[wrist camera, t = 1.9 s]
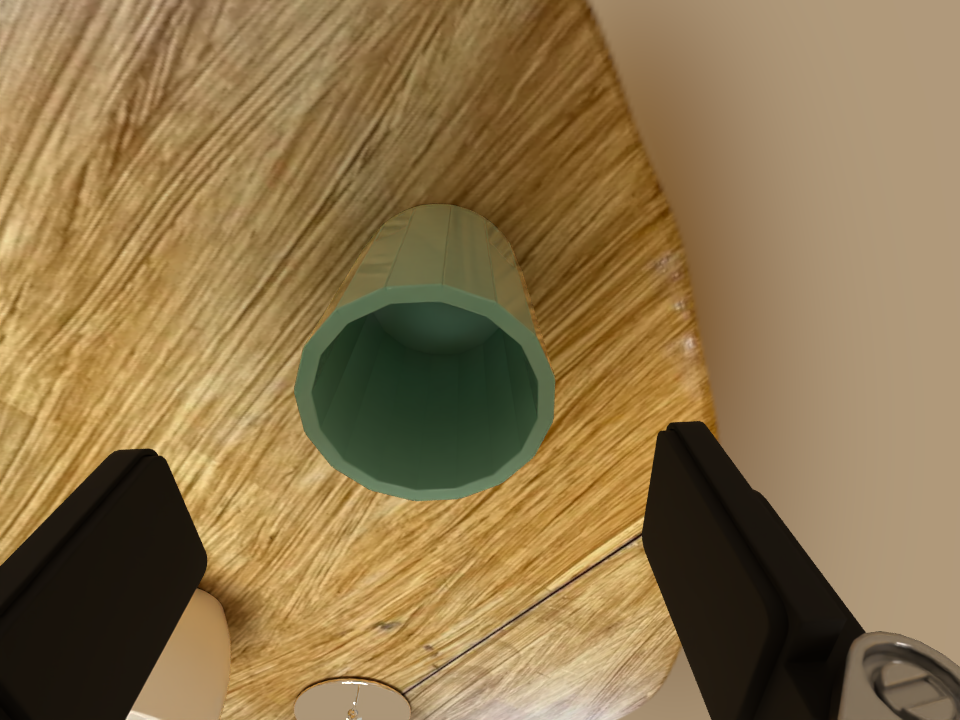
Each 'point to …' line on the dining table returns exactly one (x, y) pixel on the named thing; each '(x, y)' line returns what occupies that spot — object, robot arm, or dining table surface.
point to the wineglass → (351, 701)
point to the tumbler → (429, 361)
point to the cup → (190, 667)
